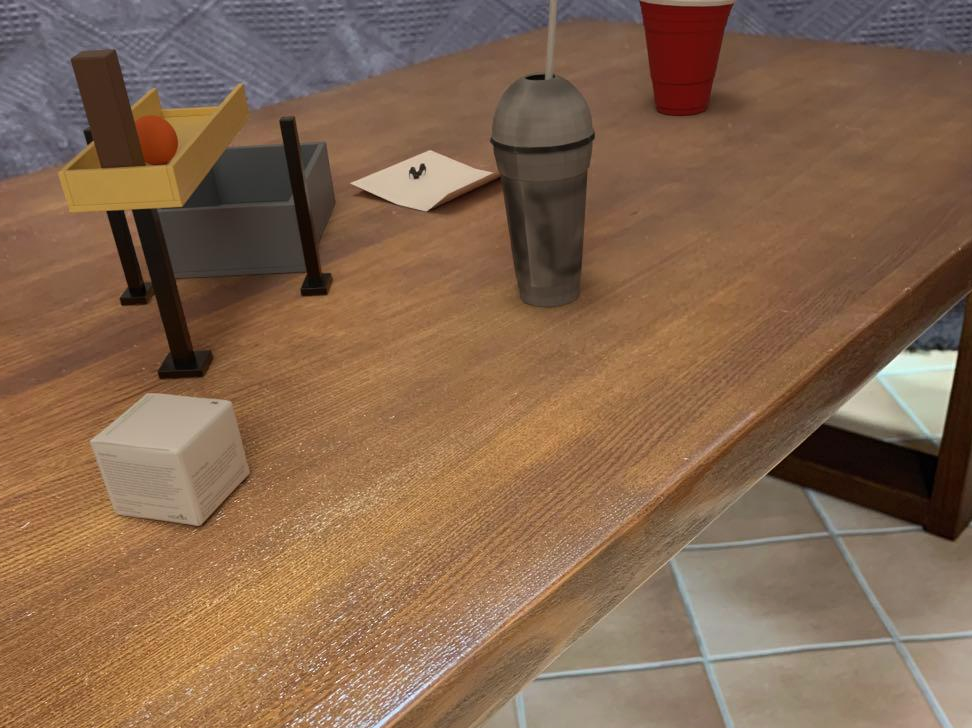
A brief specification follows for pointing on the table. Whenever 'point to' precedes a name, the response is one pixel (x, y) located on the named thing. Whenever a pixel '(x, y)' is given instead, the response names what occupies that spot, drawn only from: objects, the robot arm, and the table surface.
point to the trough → (116, 147)
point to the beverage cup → (544, 179)
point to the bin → (247, 214)
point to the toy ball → (156, 139)
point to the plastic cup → (684, 50)
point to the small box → (171, 458)
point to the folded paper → (425, 181)
